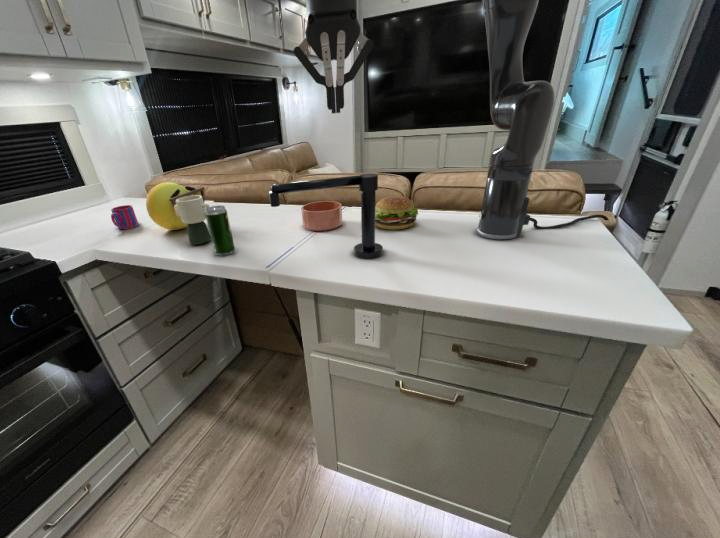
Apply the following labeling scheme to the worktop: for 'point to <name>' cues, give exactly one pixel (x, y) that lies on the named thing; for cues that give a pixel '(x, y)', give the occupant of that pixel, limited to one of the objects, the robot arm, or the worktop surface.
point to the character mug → (193, 217)
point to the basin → (322, 215)
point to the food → (395, 213)
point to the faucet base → (368, 229)
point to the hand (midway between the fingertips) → (336, 112)
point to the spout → (324, 185)
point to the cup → (124, 217)
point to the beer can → (220, 230)
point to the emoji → (168, 204)
